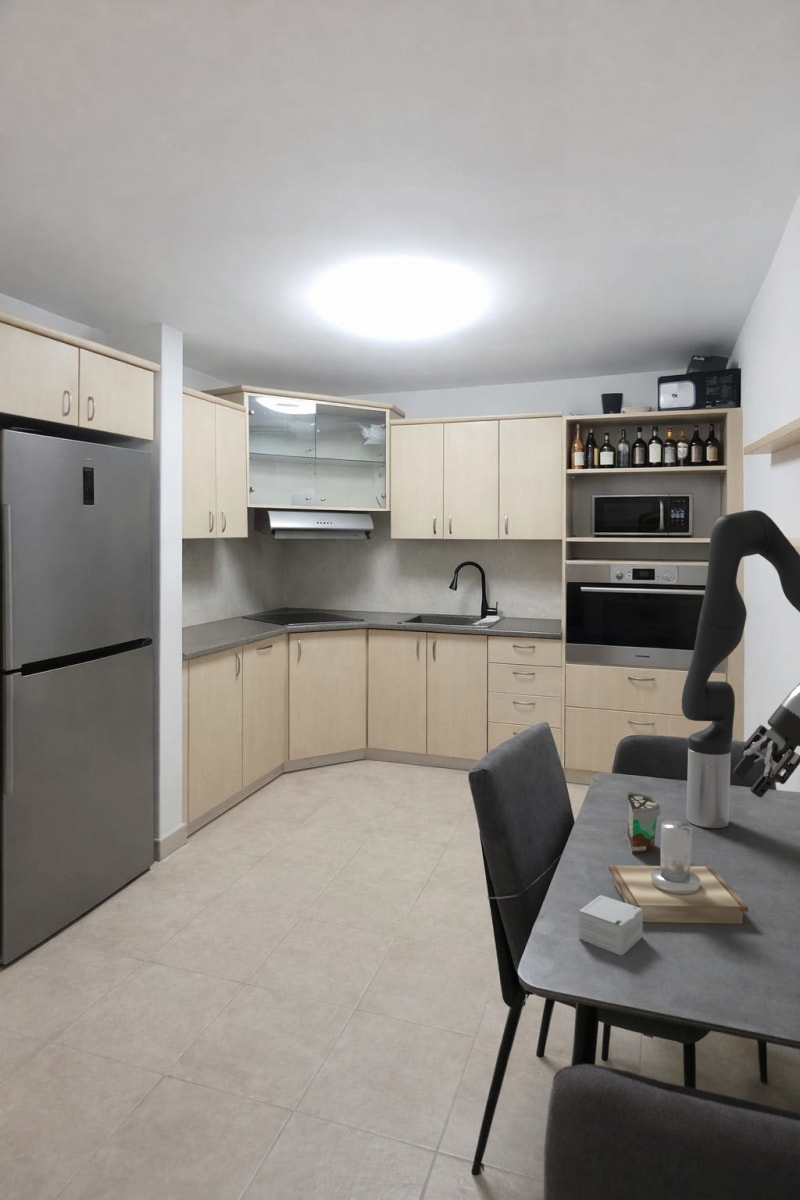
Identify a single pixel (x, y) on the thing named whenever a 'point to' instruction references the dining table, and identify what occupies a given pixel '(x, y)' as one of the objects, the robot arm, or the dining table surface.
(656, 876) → the bell jar
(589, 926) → the small box
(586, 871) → the dining table surface
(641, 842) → the food container
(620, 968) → the dining table surface
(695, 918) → the stand
